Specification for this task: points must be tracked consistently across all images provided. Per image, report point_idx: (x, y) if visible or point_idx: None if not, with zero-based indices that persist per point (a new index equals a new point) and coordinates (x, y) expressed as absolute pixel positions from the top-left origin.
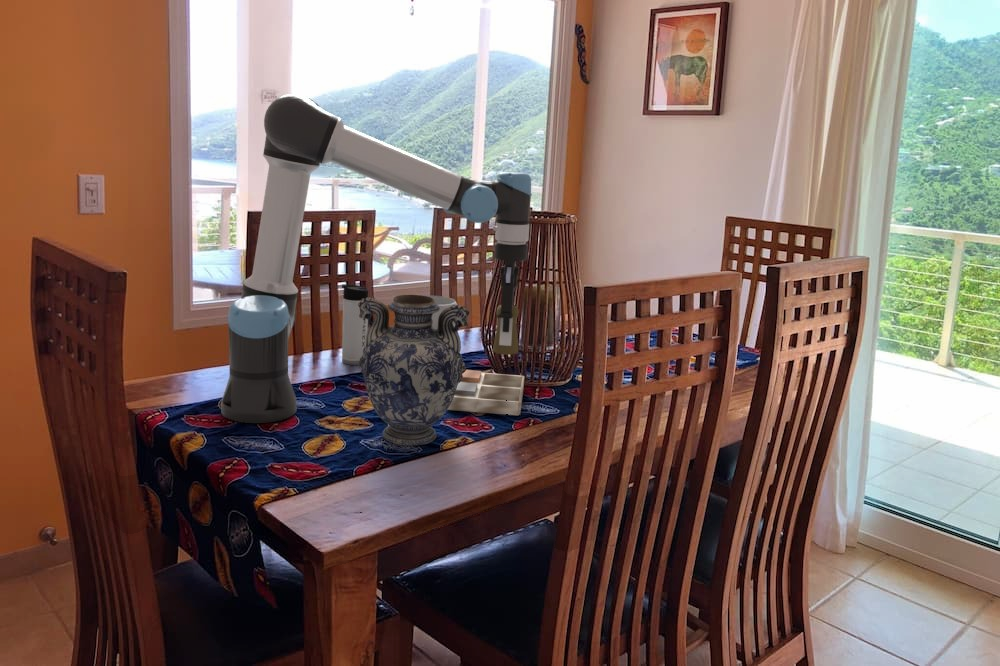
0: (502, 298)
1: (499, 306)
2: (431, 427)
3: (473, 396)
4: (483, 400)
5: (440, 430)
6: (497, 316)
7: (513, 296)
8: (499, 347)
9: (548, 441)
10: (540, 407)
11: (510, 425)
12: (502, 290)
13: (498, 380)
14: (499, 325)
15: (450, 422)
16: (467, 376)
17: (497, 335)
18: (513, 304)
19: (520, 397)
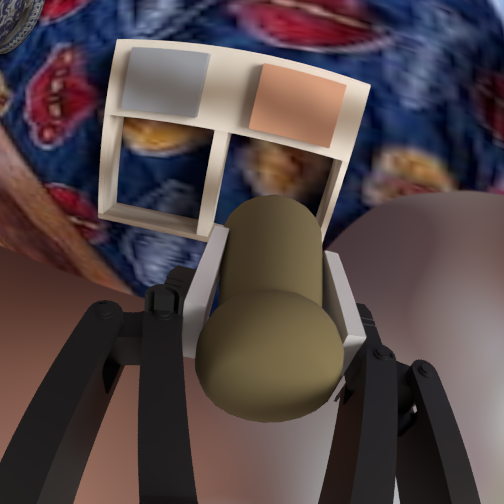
0: (39, 394)
1: (263, 347)
2: (12, 40)
3: (121, 104)
4: (104, 129)
5: (29, 52)
6: (259, 290)
7: (329, 460)
8: (231, 223)
9: (20, 234)
10: (169, 257)
11: (61, 180)
12: (10, 445)
13: (327, 194)
14: (244, 270)
15: (62, 61)
16: (266, 93)
17: (250, 237)
18: (337, 415)
19: (130, 222)
